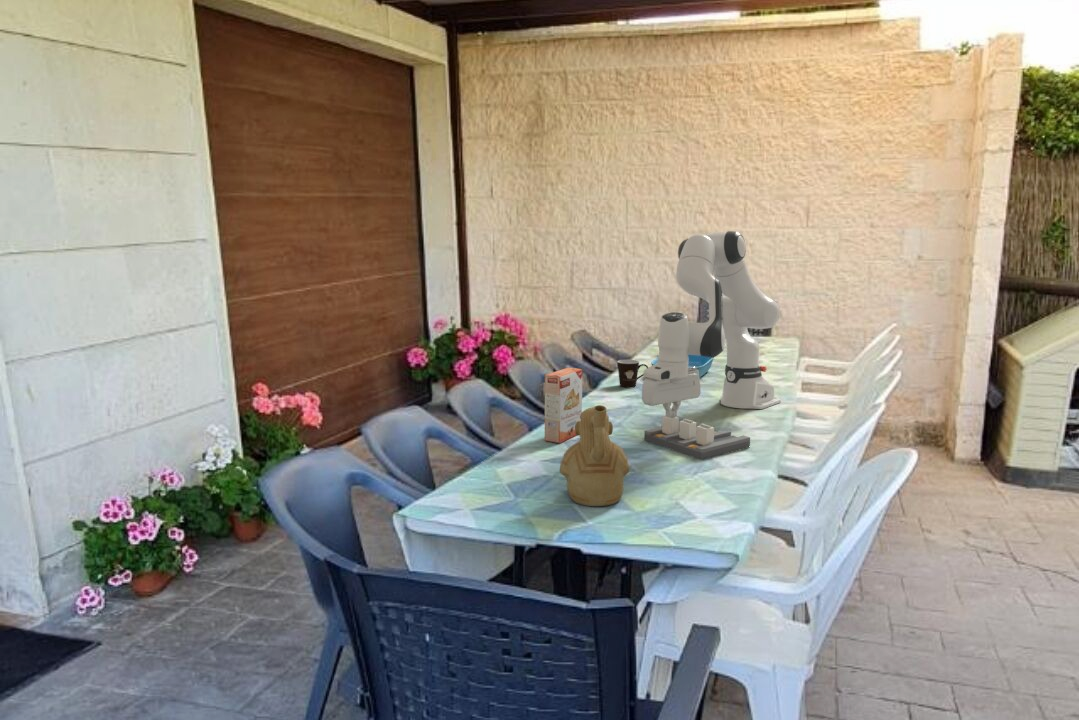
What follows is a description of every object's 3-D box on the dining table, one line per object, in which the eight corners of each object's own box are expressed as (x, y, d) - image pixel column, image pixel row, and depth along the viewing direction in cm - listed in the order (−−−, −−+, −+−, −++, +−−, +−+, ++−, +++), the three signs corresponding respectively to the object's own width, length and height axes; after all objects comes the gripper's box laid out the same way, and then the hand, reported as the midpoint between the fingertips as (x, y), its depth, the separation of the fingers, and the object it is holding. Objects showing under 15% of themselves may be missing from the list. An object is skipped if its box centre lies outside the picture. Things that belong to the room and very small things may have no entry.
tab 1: (669, 430, 242) (669, 413, 241) (678, 433, 239) (678, 415, 238) (662, 432, 240) (662, 414, 239) (671, 435, 237) (671, 417, 236)
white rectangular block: (686, 435, 236) (686, 417, 235) (696, 438, 233) (696, 420, 232) (679, 437, 235) (679, 419, 234) (688, 440, 231) (689, 422, 230)
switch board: (691, 429, 252) (691, 420, 251) (749, 447, 232) (750, 437, 232) (644, 439, 241) (644, 430, 240) (701, 459, 221) (701, 449, 220)
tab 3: (703, 441, 231) (704, 422, 230) (713, 444, 227) (714, 425, 226) (696, 442, 229) (696, 424, 228) (706, 446, 226) (706, 427, 225)
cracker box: (560, 444, 237) (560, 376, 233) (543, 441, 240) (543, 374, 236) (583, 433, 249) (583, 368, 245) (566, 430, 252) (566, 366, 248)
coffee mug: (614, 387, 312) (614, 362, 310) (620, 383, 320) (620, 359, 318) (643, 389, 308) (643, 364, 306) (648, 385, 316) (648, 360, 314)
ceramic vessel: (623, 483, 202) (624, 389, 198) (635, 512, 183) (636, 408, 178) (557, 485, 202) (557, 390, 197) (562, 514, 183) (561, 409, 178)
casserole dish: (698, 385, 315) (698, 368, 314) (644, 381, 325) (644, 364, 323) (718, 368, 348) (718, 352, 347) (669, 365, 357) (669, 349, 356)
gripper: (690, 364, 235) (689, 409, 237) (638, 371, 223) (637, 419, 226) (706, 367, 230) (704, 413, 232) (654, 375, 218) (652, 423, 221)
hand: (671, 416), depth 229 cm, fingers closed
